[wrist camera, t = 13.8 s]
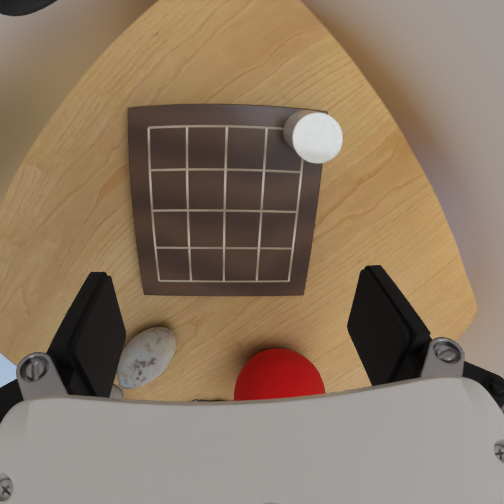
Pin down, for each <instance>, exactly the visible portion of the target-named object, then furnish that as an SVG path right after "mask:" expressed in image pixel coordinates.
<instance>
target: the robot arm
mask: <svg viewBox="0 0 504 504" xmlns="http://www.w3.org/2000/svg"><path fill="white" fill-rule="evenodd" d="M347 328H348V332H349V335H350V337H351V339H352V341H353V343H354V346H355V348H356V350H357V352H358V354H359V357H360V359H361V361H362V363H363V366H364V368H365V370H366V373H367V375H368V377H369V379H370V382H371V384H372V386H370V387H364V388H358V389H352V390H346V391H339V392H332V393H325V394H317V395H308V396H298V397H288V398H277V399H263V400H246V401H216V402H178V401H150V400H132V399H117V398H110V394H111V390H112V386H113V382H114V379H115V375H116V371H117V367H118V364H119V360H120V357H121V353H122V350H123V346H124V343H125V339H126V330H125V327H124V323H123V320H122V316H121V313H120V309H119V305H118V302H117V298H116V294H115V290H114V286H113V282H112V278H111V276H107V274H106V273H105V272H91V273H90V274H89V275H88V277H87V279H86V280H85V282H84V284H83V286H82V287H81V289H80V291H79V292H78V294H77V296H76V298H75V300H74V301H73V303H72V305H71V307H70V308H69V310H68V312H67V314H66V315H65V317H64V319H63V321H62V323H61V325H60V327H59V329H58V331H57V333H56V335H55V337H54V338H53V340H52V342H51V344H50V347H49V349H48V351H47V353H42V352H35V353H32V354H29V355H27V356H26V357H24V358H23V359H22V360H21V361H20V363H19V364H18V366H17V369H16V375H17V379H15V380H14V381H12V382H10V383H8V384H6V385H4V386H3V387H1V388H0V504H504V379H503V378H502V377H500V376H499V375H496V374H494V373H492V372H489V371H487V370H484V369H482V368H480V367H477V366H475V365H473V364H470V363H468V362H466V361H464V352H463V349H462V348H461V346H460V345H459V344H458V343H456V342H455V341H454V340H451V339H449V338H445V337H438V338H435V339H433V340H432V339H431V337H430V336H429V335H430V331H429V330H428V329H427V327H426V326H425V324H424V323H423V321H422V320H421V319H420V317H419V316H418V314H417V313H416V312H415V310H414V309H413V307H412V306H411V305H410V303H409V302H408V301H407V299H406V298H405V296H404V295H403V294H402V292H401V291H400V290H399V288H398V287H397V286H396V284H395V283H394V282H393V280H392V279H391V278H390V277H389V275H388V274H387V273H386V271H385V270H384V269H383V268H382V266H380V265H372V266H366V267H365V268H364V270H361V272H360V275H359V280H358V284H357V288H356V292H355V296H354V300H353V304H352V308H351V312H350V316H349V320H348V324H347Z"/></svg>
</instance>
